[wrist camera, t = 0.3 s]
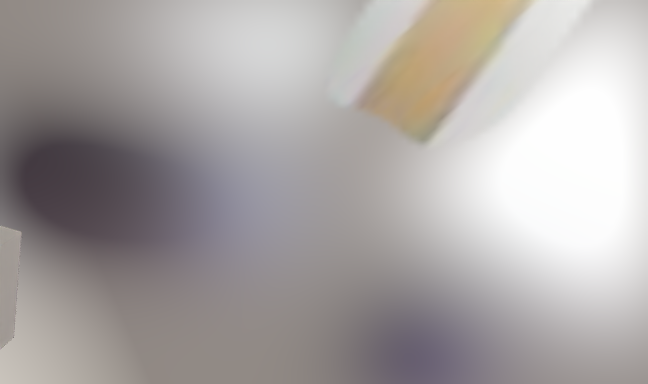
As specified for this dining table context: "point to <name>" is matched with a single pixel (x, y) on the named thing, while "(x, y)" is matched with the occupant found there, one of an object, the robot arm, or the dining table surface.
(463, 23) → the dining table surface
